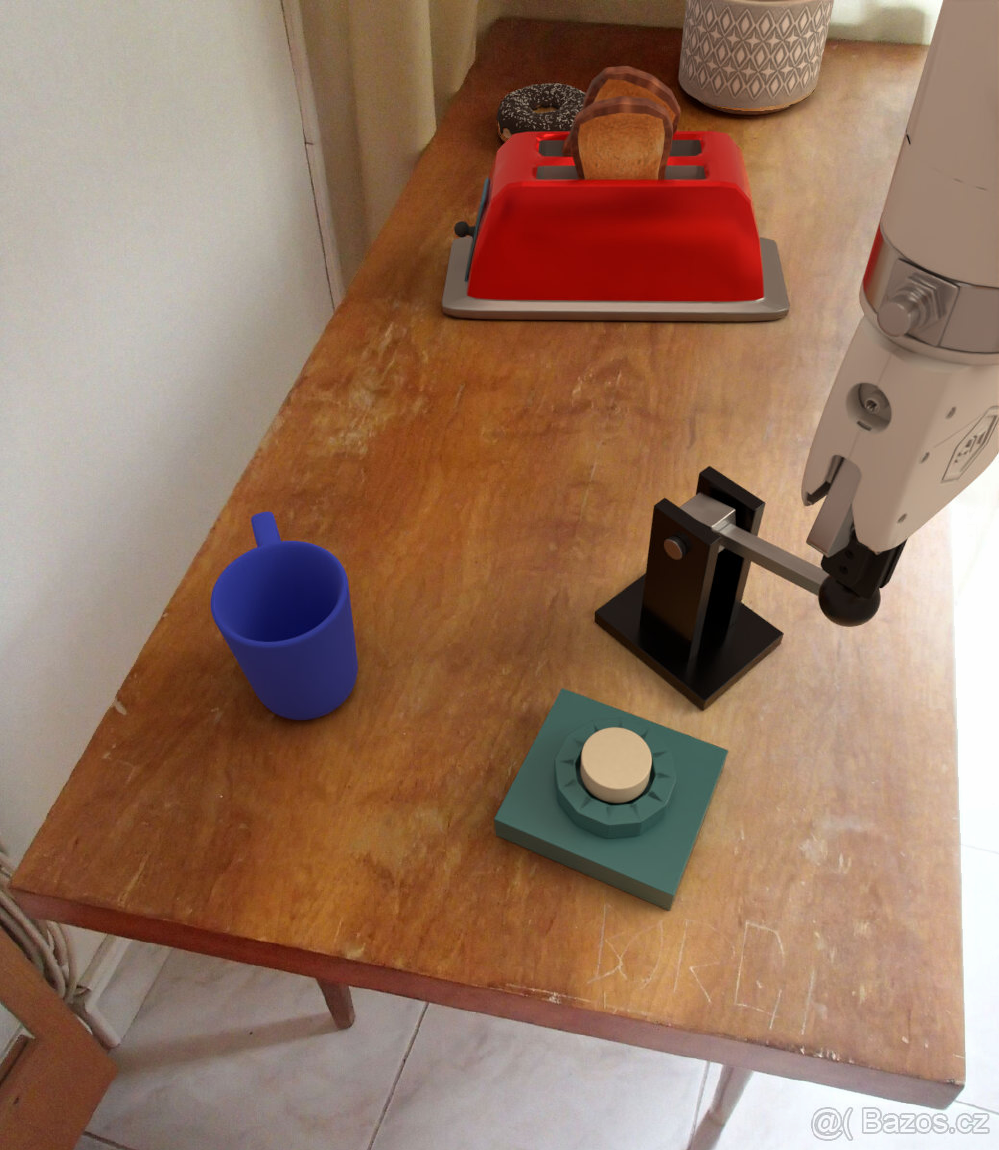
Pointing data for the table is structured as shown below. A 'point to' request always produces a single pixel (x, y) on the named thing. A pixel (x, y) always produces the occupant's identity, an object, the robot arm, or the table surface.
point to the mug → (289, 623)
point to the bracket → (694, 600)
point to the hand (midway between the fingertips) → (853, 576)
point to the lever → (783, 563)
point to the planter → (752, 51)
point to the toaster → (617, 221)
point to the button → (615, 765)
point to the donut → (539, 109)
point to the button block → (612, 830)
